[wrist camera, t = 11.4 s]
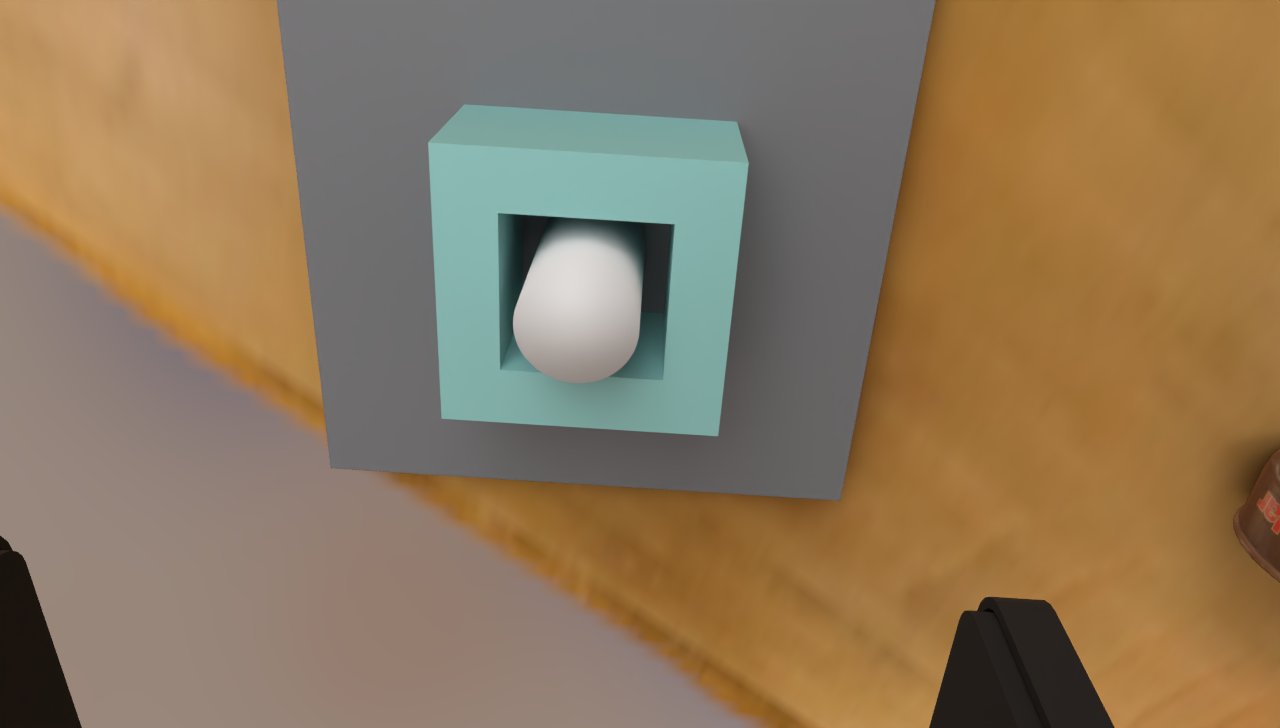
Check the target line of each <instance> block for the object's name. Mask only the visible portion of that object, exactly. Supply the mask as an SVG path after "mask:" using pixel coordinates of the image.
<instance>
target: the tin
mask: <svg viewBox="0 0 1280 728" xmlns="http://www.w3.org/2000/svg"><path fill="white" fill-rule="evenodd" d="M1233 524H1234V530H1235V533H1236V535H1237V537H1238V539H1239V541H1240V543H1241V545H1242V546H1243V547H1244V549H1245V550H1246V551H1247V552H1248V553H1249V555H1250V556H1251V558H1252V559H1253V560H1254V561H1255V562H1256V563H1257V564H1259V565H1260V566H1261V567H1262V568H1263V569H1264V570H1265V571H1266V572H1268V573H1269V574H1270V575H1271V576H1272V577H1273V578H1275V579H1276V580H1277V581H1278V582H1280V449H1278V450H1277V451H1276V452H1275V453H1274V454H1273V455H1272V456H1271V457H1270V459H1269V460H1268V462H1267V463H1266V465H1265V466H1264V468H1263V470H1262V471H1261V473H1260V475H1259V477H1258V479H1257V481H1256V483H1255V485H1254V487H1253V489H1252V491H1251V493H1250V495H1249V497H1248V499H1247V501H1246V503H1245V505H1243V506H1241V507H1240V508H1239V509H1238V510H1237V512H1236V514H1235V515H1234V522H1233Z"/></svg>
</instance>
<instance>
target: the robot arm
mask: <svg viewBox="0 0 1280 728" xmlns="http://www.w3.org/2000/svg"><path fill="white" fill-rule="evenodd" d="M0 728H82V727H81V724H80V721H79V718H78V715H77V712H76V709H75V707H74V703H73V701H72V697H71V695H70V692H69V689H68V686H67V683H66V680H65V677H64V674H63V671H62V668H61V665H60V662H59V659H58V656H57V653H56V650H55V648H54V644H53V641H52V638H51V635H50V632H49V630H48V627H47V624H46V621H45V618H44V615H43V612H42V609H41V606H40V603H39V600H38V597H37V594H36V591H35V588H34V585H33V582H32V579H31V576H30V573H29V570H28V567H27V565H26V562H25V560H24V558H23V556H22V555H21V554H19V553H18V552H15V551H13V550H12V548H11V547H10V545H9V543H8V542H7V541H6V540H5V539H4V538H2V537H1V536H0ZM929 728H1114V726H1113V724H1112V722H1111V720H1110V718H1109V716H1108V714H1107V712H1106V710H1105V708H1104V706H1103V704H1102V702H1101V700H1100V698H1099V696H1098V694H1097V692H1096V690H1095V688H1094V686H1093V684H1092V683H1091V681H1090V679H1089V677H1088V675H1087V673H1086V671H1085V669H1084V667H1083V665H1082V663H1081V661H1080V659H1079V657H1078V655H1077V653H1076V651H1075V649H1074V647H1073V645H1072V643H1071V641H1070V639H1069V637H1068V635H1067V633H1066V631H1065V629H1064V628H1063V626H1062V624H1061V622H1060V620H1059V618H1058V616H1057V614H1056V612H1055V610H1054V609H1053V607H1052V606H1051V605H1050V604H1049V603H1048V602H1046V601H1045V600H1032V599H1016V598H1000V597H986V598H984V599H983V600H982V601H981V603H980V605H979V608H978V610H977V611H964V612H963V614H962V615H961V617H960V620H959V623H958V627H957V630H956V634H955V637H954V641H953V645H952V648H951V652H950V655H949V659H948V663H947V666H946V670H945V673H944V677H943V680H942V684H941V688H940V691H939V695H938V698H937V702H936V706H935V709H934V713H933V716H932V720H931V723H930V727H929Z"/></svg>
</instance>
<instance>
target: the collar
mask: <svg viewBox="0 0 1280 728" xmlns="http://www.w3.org/2000/svg"><path fill="white" fill-rule="evenodd" d="M428 149H429V170H430V191H431V211H432V232H433V252H434V273H435V294H436V314H437V335H438V355H439V376H440V397H441V417H442V419H454V420H470V421H486V422H502V423H517V424H533V425H549V426H564V427H580V428H596V429H611V430H627V431H643V432H659V433H674V434H690V435H706V436H718V433H719V424H720V415H721V406H722V397H723V388H724V379H725V370H726V361H727V352H728V344H729V335H730V326H731V317H732V308H733V299H734V290H735V281H736V272H737V263H738V254H739V245H740V236H741V228H742V219H743V210H744V201H745V192H746V183H747V174H748V165H749V162H748V159H747V155H746V152H745V148H744V145H743V141H742V138H741V134H740V131H739V127H738V124H737V122H734V121H718V120H703V119H687V118H671V117H656V116H640V115H624V114H609V113H593V112H577V111H562V110H546V109H530V108H515V107H499V106H483V105H468V104H464V105H463V106H462V107H461V108H460V109H459V111H458V112H457V113H456V114H455V115H454V116H453V117H452V118H451V119H450V120H449V121H448V122H447V123H446V124H445V125H444V126H443V127H442V128H441V130H440V131H439V132H438V133H437V134H436V135H435V136H434V137H433V138H432V139H431V140H430V141H429V142H428ZM523 215H536V216H552V217H567V218H583V219H599V220H614V221H630V222H646V223H661V224H671V225H670V239H669V252H668V265H667V278H666V292H665V305H664V314H662V313H647V312H641V316H640V330H639V338H638V342H637V346H636V348H635V350H634V353H633V354H632V356H631V357H630V359H629V360H628V361H627V363H626V364H625V365H624V366H623V367H622V368H621V369H619V370H618V371H617V372H615V373H614V374H612V375H610V376H608V377H606V378H604V379H601V380H599V381H594V382H590V383H569V382H564V381H559V380H556V379H554V378H551V377H549V376H547V375H545V374H543V373H542V372H540V371H539V370H537V369H536V368H535V367H534V366H533V365H531V364H530V363H529V361H528V360H527V359H526V358H525V357H524V355H523V354H522V352H521V351H520V349H519V347H518V345H517V342H516V339H515V335H514V331H513V316H514V311H515V307H516V305H517V302H518V299H519V297H520V294H521V291H522V288H523Z"/></svg>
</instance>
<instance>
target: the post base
mask: <svg viewBox="0 0 1280 728" xmlns="http://www.w3.org/2000/svg"><path fill="white" fill-rule="evenodd" d="M935 1H936V0H277V6H278V15H279V24H280V32H281V41H282V50H283V58H284V67H285V76H286V84H287V93H288V102H289V110H290V119H291V128H292V136H293V145H294V154H295V162H296V171H297V180H298V188H299V197H300V206H301V214H302V223H303V232H304V240H305V249H306V258H307V266H308V275H309V284H310V292H311V301H312V310H313V318H314V327H315V336H316V344H317V353H318V362H319V370H320V379H321V388H322V396H323V405H324V414H325V422H326V431H327V440H328V448H329V456H330V465H331V468H336V469H352V470H367V471H383V472H399V473H414V474H430V475H446V476H461V477H477V478H493V479H508V480H524V481H540V482H555V483H571V484H587V485H602V486H618V487H634V488H649V489H665V490H681V491H696V492H712V493H728V494H743V495H759V496H775V497H790V498H806V499H822V500H837V501H840V500H841V494H842V489H843V484H844V479H845V473H846V468H847V463H848V458H849V452H850V447H851V442H852V437H853V431H854V426H855V421H856V416H857V410H858V405H859V400H860V395H861V389H862V384H863V379H864V374H865V368H866V363H867V358H868V353H869V347H870V342H871V337H872V332H873V326H874V321H875V316H876V311H877V305H878V300H879V295H880V290H881V284H882V279H883V274H884V269H885V263H886V258H887V253H888V248H889V242H890V237H891V232H892V227H893V221H894V216H895V211H896V206H897V200H898V195H899V190H900V185H901V179H902V174H903V169H904V164H905V158H906V153H907V148H908V143H909V137H910V132H911V127H912V122H913V116H914V111H915V106H916V101H917V95H918V90H919V85H920V80H921V74H922V69H923V64H924V59H925V53H926V48H927V43H928V38H929V32H930V27H931V22H932V17H933V11H934V6H935ZM464 104H468V105H483V106H499V107H515V108H530V109H546V110H562V111H577V112H593V113H609V114H624V115H640V116H656V117H671V118H687V119H703V120H718V121H734V122H737V124H738V127H739V131H740V134H741V138H742V141H743V145H744V148H745V152H746V155H747V159H748V162H749V165H748V174H747V183H746V192H745V201H744V210H743V219H742V228H741V236H740V245H739V254H738V263H737V272H736V281H735V290H734V299H733V308H732V317H731V326H730V335H729V344H728V352H727V361H726V370H725V379H724V388H723V397H722V406H721V415H720V424H719V433H718V436H706V435H690V434H674V433H659V432H643V431H627V430H611V429H596V428H580V427H564V426H549V425H533V424H517V423H502V422H486V421H470V420H454V419H442V417H441V397H440V376H439V355H438V335H437V314H436V294H435V273H434V252H433V232H432V211H431V191H430V170H429V149H428V142H429V141H430V140H431V139H432V138H433V137H434V136H435V135H436V134H437V133H438V132H439V131H440V130H441V128H442V127H443V126H444V125H445V124H446V123H447V122H448V121H449V120H450V119H451V118H452V117H453V116H454V115H455V114H456V113H457V112H458V111H459V109H460V108H461V107H462V106H463V105H464ZM670 225H671V224H661V223H646V222H630V221H614V220H599V219H583V218H567V217H552V216H536V215H523V288H522V291H521V294H520V297H519V299H518V302H517V305H516V307H515V311H514V316H513V331H514V335H515V339H516V342H517V345H518V347H519V349H520V351H521V352H522V354H523V355H524V357H525V358H526V359H527V360H528V361H529V363H530V364H531V365H533V366H534V367H535V368H536V369H537V370H539V371H540V372H542V373H543V374H545V375H547V376H549V377H551V378H554V379H556V380H559V381H564V382H569V383H590V382H594V381H599V380H601V379H604V378H606V377H608V376H610V375H612V374H614V373H615V372H617V371H618V370H619V369H621V368H622V367H623V366H624V365H625V364H626V363H627V361H628V360H629V359H630V357H631V356H632V354H633V353H634V350H635V348H636V346H637V342H638V338H639V330H640V316H641V312H647V313H662V314H664V305H665V292H666V278H667V265H668V252H669V239H670Z"/></svg>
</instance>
